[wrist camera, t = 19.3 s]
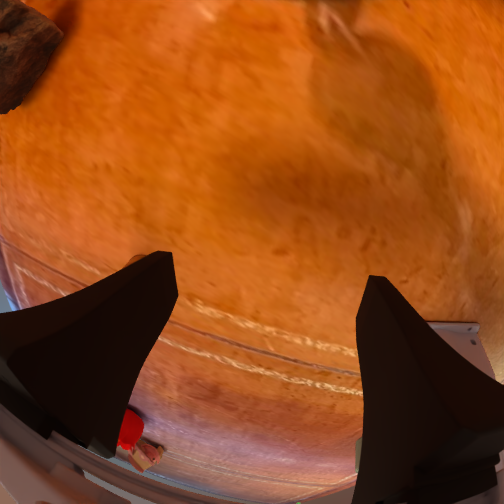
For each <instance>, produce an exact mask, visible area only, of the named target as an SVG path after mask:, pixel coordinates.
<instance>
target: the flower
mask: <svg viewBox="0 0 504 504" xmlns="http://www.w3.org/2000/svg"><path fill="white" fill-rule="evenodd" d="M143 429H144V423H143V420H142V419H141V418H140V417H139V416H138V415H137V414H135V413H134V412H133V411H132V410H130V409H127V408H126V412H125V415H124V419H123V422H122V426H121V429H120V434H119V438H118V443H117V446H119V445H121V447H122V448H123V449H125V450H131V452H132V447H133V448H134V450H135V444H136V442H137V441H138V440H139V439H140V437H141V435H142V433H143Z"/></svg>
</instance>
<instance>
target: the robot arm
mask: <svg viewBox="0 0 504 504" xmlns="http://www.w3.org/2000/svg"><path fill="white" fill-rule="evenodd" d="M177 298H178V290H177V283H176V277H175V270H174V263H173V256H172V252H165V251H156V252H153V253H151V254H149V255H147V256H145V257H143V258H141V259H139V260H138V261H136V262H134V263H132V264H130V265H128V266H127V267H125V268H123V269H121V270H119V271H117V272H116V273H114V274H112V275H110V276H108V277H106V278H104V279H102V280H100V281H98V282H96V283H94V284H93V285H90V286H88V287H86V288H84V289H82V290H80V291H77V292H75V293H72V294H70V295H68V296H65V297H62V298H59V299H56V300H53V301H50V302H47V303H45V304H41V305H38V306H34V307H30V308H26V309H22V310H17V311H12V312H6V313H0V483H1V485H2V486H3V487H4V488H5V490H6V491H7V492H8V493H9V495H10V496H11V497H12V498H13V499H14V500H15V502H16V503H17V504H131V502H130V501H129V500H127V499H124V498H122V497H120V496H118V495H116V494H114V493H112V492H110V491H108V490H106V489H104V488H103V487H101V486H99V485H97V484H95V483H93V482H92V481H90V480H88V479H86V478H85V476H84V472H83V470H85V471H86V472H88V473H90V474H92V475H94V476H96V477H98V478H100V479H101V480H103V481H105V482H107V483H110V484H111V485H114V486H116V487H118V488H120V489H122V490H124V491H127V492H129V493H131V494H133V495H136V496H138V497H141V498H143V499H146V500H149V501H151V502H154V503H157V504H244V503H238V502H232V501H227V500H222V499H217V498H213V497H209V496H204V495H201V494H196V493H193V492H189V491H186V490H182V489H179V488H176V487H172V486H169V485H166V484H163V483H161V482H157V481H155V480H152V479H149V478H147V477H144V476H142V475H139V474H136V473H134V472H132V471H129V470H127V469H124V468H122V467H120V466H118V465H116V464H113V463H111V462H109V461H107V460H105V459H103V458H101V457H99V456H97V455H95V454H93V453H91V452H89V451H87V450H85V449H88V450H90V451H92V452H94V453H96V454H98V455H100V456H102V457H104V458H107V459H109V458H112V457H114V456H115V453H116V448H117V443H118V438H119V434H120V429H121V426H122V422H123V419H124V415H125V412H126V408H127V405H128V402H129V399H130V396H131V394H132V391H133V388H134V385H135V383H136V380H137V378H138V375H139V373H140V370H141V368H142V366H143V364H144V362H145V360H146V358H147V356H148V355H149V353H150V351H151V349H152V347H153V346H154V344H155V342H156V340H157V339H158V337H159V335H160V334H161V332H162V330H163V328H164V326H165V325H166V323H167V321H168V319H169V318H170V315H171V313H172V311H173V308H174V306H175V303H176V300H177ZM479 328H480V325H479V324H478V323H438V322H426V321H425V320H424V319H423V318H422V317H421V316H420V315H419V314H418V313H417V311H416V310H415V309H414V308H413V307H412V306H411V305H410V304H409V302H408V301H407V300H406V299H405V298H404V297H403V296H402V294H401V293H400V292H399V291H398V290H397V289H396V288H395V287H394V285H393V284H392V283H391V282H390V281H389V280H388V279H387V278H386V277H384V276H374V275H369V277H368V281H367V284H366V288H365V291H364V294H363V297H362V301H361V304H360V307H359V310H358V313H357V316H356V343H357V350H358V357H359V364H360V372H361V380H362V388H363V400H364V413H363V434H362V446H361V455H360V462H359V469H358V475H357V480H356V485H355V490H354V495H353V499H352V503H351V504H504V385H502V384H501V383H499V382H498V381H496V380H495V374H494V371H493V369H492V366H491V364H490V361H489V359H488V357H487V354H486V352H485V350H484V348H483V345H482V343H481V341H480V339H479V337H478V335H477V332H478V330H479ZM78 445H80V446H82V447H84V448H85V449H84V448H82V447H80V446H78ZM82 469H83V470H82Z"/></svg>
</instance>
